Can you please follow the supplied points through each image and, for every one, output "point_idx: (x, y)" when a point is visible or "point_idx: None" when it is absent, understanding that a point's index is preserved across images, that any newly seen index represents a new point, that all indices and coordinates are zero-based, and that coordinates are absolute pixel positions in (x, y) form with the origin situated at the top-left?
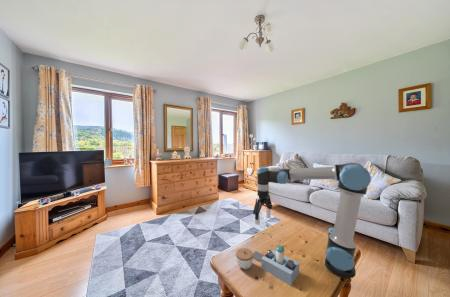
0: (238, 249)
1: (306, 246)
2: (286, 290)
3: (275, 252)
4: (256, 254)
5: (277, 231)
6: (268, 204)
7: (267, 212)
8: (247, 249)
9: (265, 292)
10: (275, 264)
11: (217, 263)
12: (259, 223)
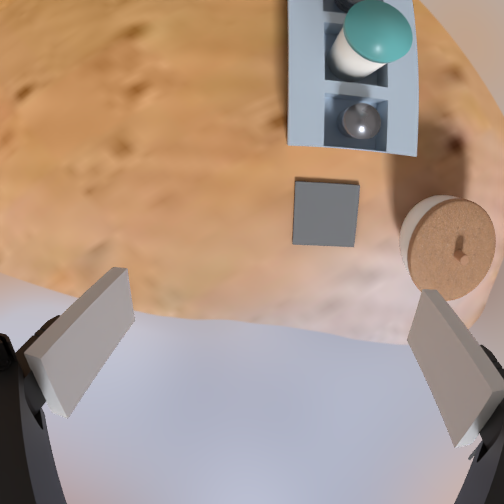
0: (444, 298)
1: (54, 67)
2: (426, 17)
3: (300, 105)
4: (319, 225)
5: (40, 246)
6: (13, 483)
7: (95, 355)
8: (422, 259)
9: (486, 87)
10: (407, 65)
11: (465, 323)
12: (430, 298)
